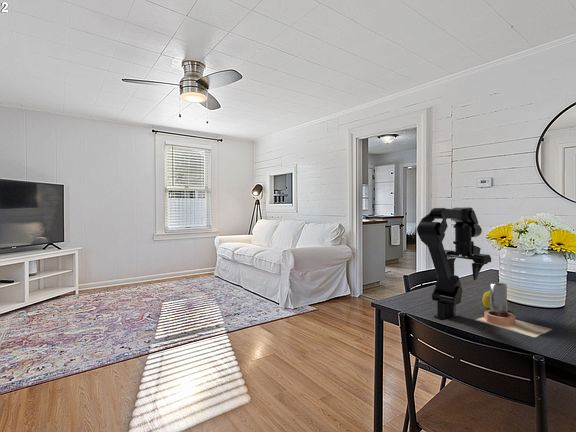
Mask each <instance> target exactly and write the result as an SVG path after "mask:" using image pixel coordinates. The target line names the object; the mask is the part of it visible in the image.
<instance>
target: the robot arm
mask: <svg viewBox="0 0 576 432" xmlns="http://www.w3.org/2000/svg"><path fill="white" fill-rule="evenodd" d="M449 219H450V220H451V221H453V222H455V224H453V225H452V226H453V229H454V235H455V237H454V241H453V242H452V243H453V245H455V246H454V247H455V250H452V249H451V250H450V249H445V247H444V244H443V241H444V239H445V237H446V231H447V229H448V226H449V225H448V223H447V220H449ZM435 220H441V222H440V221H435ZM482 232H483V229H482V227H481V225H479V221H478V218H477V215H476V212H475V210H474V209H473V207H468V206H467V207H465V206H464V207H453V208H446V207H434V208H431V210H430V212H428V214H426V215H425V216H424V217H422V218H421V220H420V221H419V223H418V225H417V226H416V233H417V235H418V237H419V239H420V241H421V242H422V243H423V244H424V245H426V246H427V248H428V251H429V254H430V257H431V261H432V264H433V267H434V269H435V273H436V275H437V276H436V277H437V280H436V281H435V287H434V289H433V292H432V294H431V299H432V301H435V302H436V304H437V305H436V307H437V308H436V309H437V310H436V311H437V314H435V315H433V318H436V319H439V320H443V321H446V320H448V319H455V317H457V311H456V310H457V305H458V304H461V302H462V294H463V287H462V282H461V281H460V277H459V276H458V275H455V261H456V259H465V260H472V261H473V262H472V263H471V269H472V278H473V280H474V281H476V280H478V277H479V274H480V271H481V270H482V268H483V266H485V265H488V263H492V257H491V255H490V254H485V253H481V249H482V248H481V247H480V246H477V245H475V242H474V240H473V241H472V239H473V238H476V237H479V236H480V235H481V234H482Z"/></svg>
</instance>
